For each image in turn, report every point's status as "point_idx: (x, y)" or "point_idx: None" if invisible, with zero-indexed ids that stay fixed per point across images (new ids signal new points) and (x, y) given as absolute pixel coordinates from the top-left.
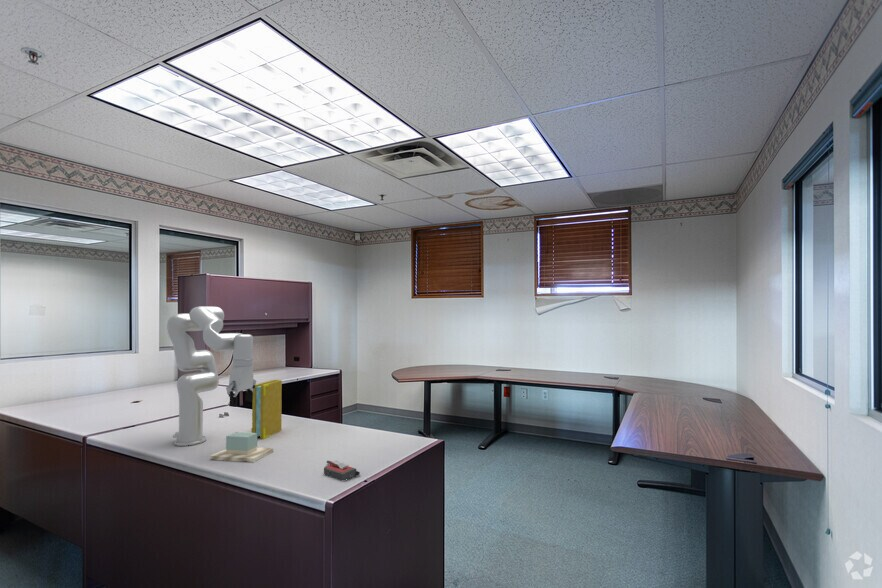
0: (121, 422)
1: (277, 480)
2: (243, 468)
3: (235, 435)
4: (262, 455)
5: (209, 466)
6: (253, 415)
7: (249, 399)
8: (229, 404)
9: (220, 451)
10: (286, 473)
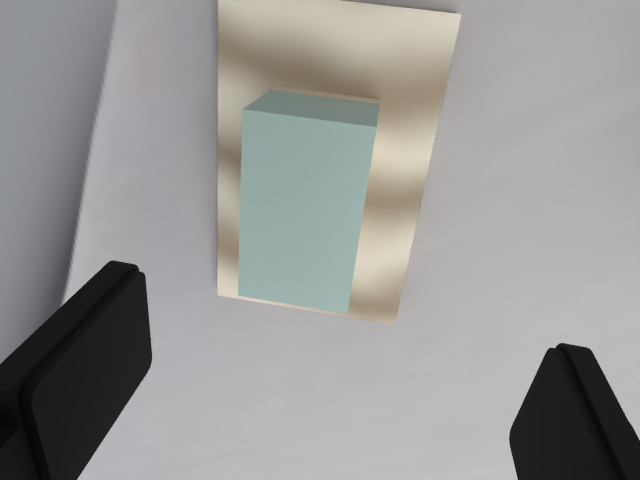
0: None
1: None
2: None
3: (272, 179)
4: None
5: (123, 77)
6: None
7: (527, 438)
8: (96, 273)
9: (318, 6)
10: (137, 441)
